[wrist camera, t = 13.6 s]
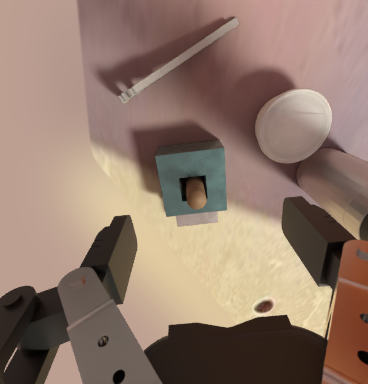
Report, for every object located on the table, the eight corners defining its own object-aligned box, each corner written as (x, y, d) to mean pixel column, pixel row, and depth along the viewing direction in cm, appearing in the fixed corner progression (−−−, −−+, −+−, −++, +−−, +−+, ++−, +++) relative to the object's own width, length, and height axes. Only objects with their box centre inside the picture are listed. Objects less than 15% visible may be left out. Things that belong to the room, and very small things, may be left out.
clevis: (218, 139, 40) (224, 147, 35) (222, 212, 47) (227, 228, 42) (158, 146, 41) (155, 156, 36) (170, 218, 47) (169, 234, 43)
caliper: (127, 102, 37) (117, 106, 32) (123, 96, 37) (113, 99, 31) (238, 24, 33) (250, 13, 27) (235, 17, 32) (246, 4, 27)
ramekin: (302, 72, 36) (321, 71, 31) (322, 133, 40) (341, 140, 35) (238, 111, 38) (246, 116, 33) (263, 164, 42) (274, 175, 38)
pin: (200, 167, 42) (205, 190, 33) (202, 181, 44) (207, 208, 35) (184, 169, 43) (185, 193, 34) (186, 183, 44) (188, 210, 35)
